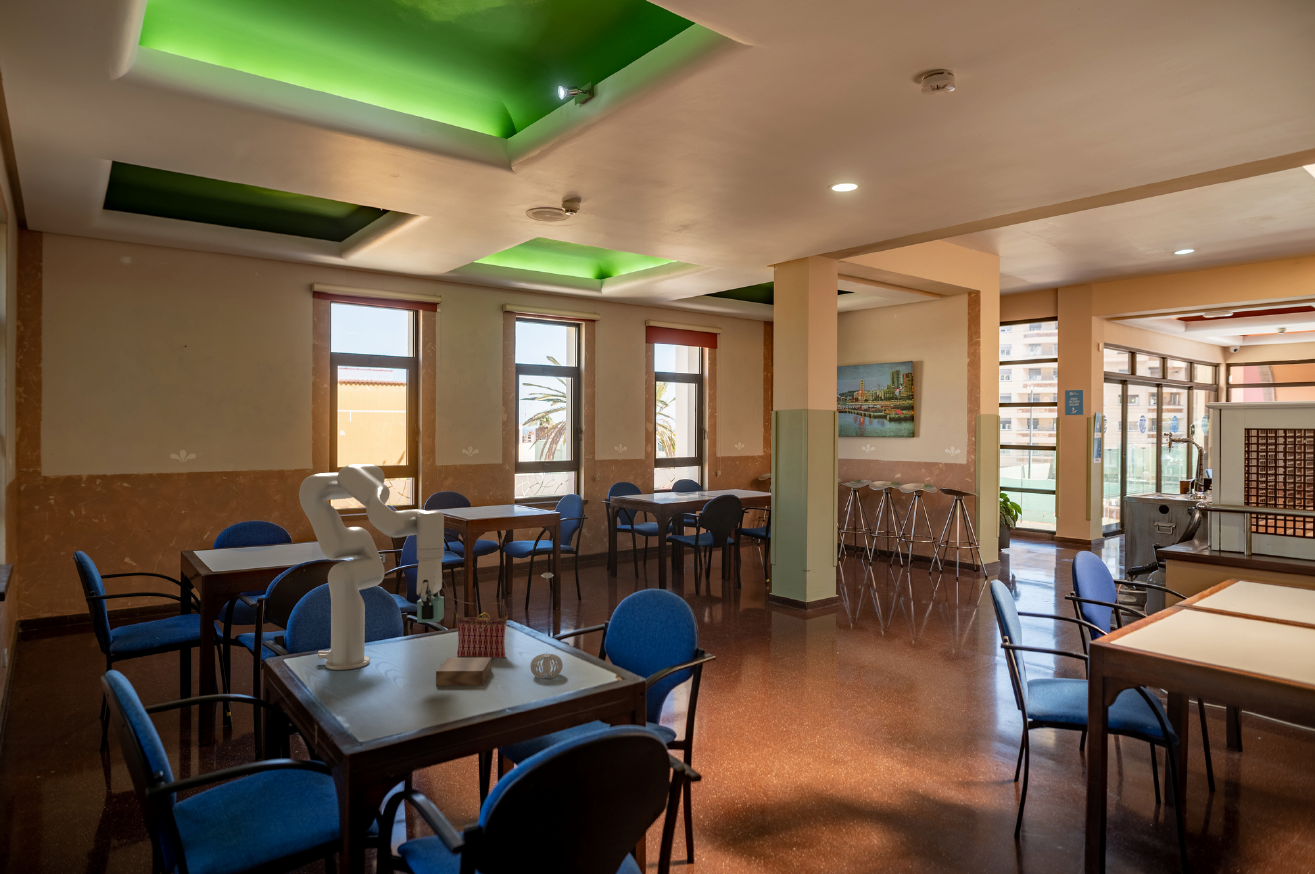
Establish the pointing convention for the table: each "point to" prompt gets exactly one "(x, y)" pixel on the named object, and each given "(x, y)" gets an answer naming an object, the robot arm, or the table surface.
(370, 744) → the table surface
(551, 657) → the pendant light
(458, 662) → the walnut plinth
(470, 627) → the handbag
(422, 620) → the teal block
